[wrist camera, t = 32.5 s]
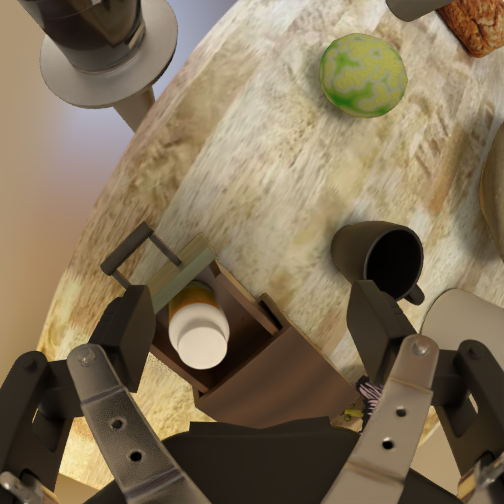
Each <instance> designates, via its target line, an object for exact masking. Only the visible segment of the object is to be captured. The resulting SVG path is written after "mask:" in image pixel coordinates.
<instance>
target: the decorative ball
mask: <svg viewBox="0 0 504 504" xmlns="http://www.w3.org/2000/svg"><path fill="white" fill-rule="evenodd" d="M319 76H320V83H321V88H322V89H323V91H324V93H325V95H326V97H327V98H328V100H330V101H331V102H332V103H333V104H334V105H336V106H337V107H338V108H340V109H341V110H343V111H344V112H346V113H348V114H349V115H351V116H354V117H359V118H373V117H378V116H382V115H384V114H386V113H388V112H389V111H390V110H392V109H393V108H394V107H395V106H396V105H397V104H398V103H399V102H400V100H401V99H402V97H403V95H404V93H405V90H406V86H407V82H408V78H407V74H406V70H405V67H404V64H403V61H402V58H401V56H400V55H399V53H398V52H397V51H396V50H394V48H393V47H392V46H391V45H390V44H389V43H387V42H386V41H384V40H382V39H380V38H377V37H374V36H370V35H365V34H360V33H353V34H349V35H347V36H344V37H342V38H339V39H336V40H334V41H333V42H332V43H331V45H330V46H329V47H328V48H327V50H326V51H325V53H324V55H323V57H322V59H321V63H320V68H319Z"/></svg>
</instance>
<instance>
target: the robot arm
mask: <svg viewBox="0 0 504 504" xmlns="http://www.w3.org/2000/svg"><path fill="white" fill-rule="evenodd" d="M18 1H19V3H20V4H21V5H22V6H23V8H24V9H25V10H26V11H27V12H28V13H29V14H30V15H31V17H32V18H33V19H34V20H35V21H36V23H37V24H38V25H39V26H40V27H41V28H42V30H43V31H44V32H45V33H46V34H47V35H48V37H49V38H50V39H51V40H52V41H53V42H54V44H55V45H56V46H57V47H58V48H59V49H60V50H61V52H62V53H63V54H64V55H65V56H66V58H67V59H68V61H69V62H70V64H71V65H72V66H73V67H74V68H75V69H76V70H78V71H79V72H82V73H84V74H88V75H103V74H108V73H111V72H114V71H116V70H118V69H120V68H122V67H124V66H125V65H126V64H128V63H129V62H130V61H131V60H132V59H133V58H134V57H135V56H136V55H137V54H138V53H139V51H140V50H141V48H142V46H143V44H144V41H145V36H146V27H145V21H144V19H143V12H142V5H141V0H18ZM347 326H348V329H349V331H350V334H351V336H352V338H353V341H354V343H355V345H356V348H357V350H358V352H359V355H360V357H361V360H362V362H363V364H364V367H365V369H366V372H367V374H368V377H369V379H370V382H371V384H372V386H376V385H382V384H383V386H384V388H383V391H382V393H381V395H380V397H379V399H378V402H377V404H376V406H375V408H374V410H373V412H372V414H371V416H370V418H369V420H368V422H367V424H366V426H365V428H364V430H363V432H362V434H359V433H358V432H355V431H353V430H350V429H347V428H344V427H339V426H333V425H331V424H330V420H329V416H325V417H316V418H306V419H295V420H292V421H288V422H285V423H281V424H278V425H274V426H270V427H267V428H262V429H257V428H251V427H246V426H240V425H235V424H230V423H225V422H191V421H190V428H189V431H186V432H182V433H178V434H175V435H172V436H170V437H168V438H166V439H164V440H162V441H160V439H159V438H158V436H157V435H156V433H155V432H154V430H153V429H152V427H151V426H150V424H149V423H148V421H147V420H146V418H145V417H144V415H143V414H142V412H141V410H140V409H139V407H138V406H137V404H136V402H135V401H134V399H133V398H132V396H131V394H130V393H129V392H132V393H137V390H138V387H139V383H140V380H141V376H142V373H143V369H144V366H145V363H146V359H147V356H148V353H149V349H150V346H151V343H152V340H153V336H154V333H155V328H156V320H155V314H154V309H153V304H152V299H151V294H150V289H149V287H148V285H129V286H128V287H127V289H126V291H125V293H124V295H123V297H117V298H115V299H114V300H113V301H112V302H111V303H109V304H108V306H107V308H106V310H105V311H104V314H103V315H102V317H101V319H100V321H99V322H98V324H97V326H96V328H95V330H94V332H93V334H92V335H91V337H90V339H89V341H88V343H87V344H82V345H80V346H77V347H76V348H74V349H73V350H72V351H71V352H70V353H69V355H68V357H67V359H65V360H58V361H51V362H48V361H47V359H46V357H45V355H44V354H43V353H42V352H39V351H30V352H27V353H24V354H23V355H21V356H20V357H19V358H18V359H17V360H16V361H15V363H14V365H13V366H12V368H11V370H10V372H9V374H8V375H7V377H6V379H5V381H4V383H3V385H2V387H1V388H0V504H60V502H59V500H58V498H57V497H56V496H55V494H54V489H55V484H56V480H57V476H58V472H59V468H60V464H61V461H62V457H63V453H64V450H65V446H66V442H67V439H68V436H69V432H70V429H71V426H72V422H73V419H74V418H75V417H83V416H85V418H86V421H87V423H88V425H89V428H90V430H91V432H92V434H93V437H94V439H95V441H96V443H97V445H98V447H99V449H100V451H101V453H102V455H103V457H104V459H105V461H106V463H107V465H108V467H109V469H110V471H111V473H112V475H113V476H114V478H115V479H114V480H113V481H111V482H110V483H109V484H108V485H106V486H105V487H104V488H103V489H101V490H100V491H99V492H97V493H96V494H95V495H94V496H93V497H91V498H90V499H88V500H87V501H86V502H84V503H83V504H504V371H503V370H502V368H501V366H500V365H499V363H498V362H497V360H496V359H495V358H494V356H493V355H492V353H491V352H490V350H489V349H488V348H487V346H485V345H484V344H483V343H481V342H479V341H477V340H473V339H467V340H464V341H462V342H461V343H460V345H459V347H458V349H457V350H445V349H439V347H438V345H437V343H436V342H435V341H434V340H433V339H431V338H429V337H427V336H425V335H420V334H417V332H416V331H415V329H414V328H413V326H412V325H411V323H410V322H409V320H408V319H407V317H406V316H405V314H403V311H402V310H401V308H399V305H398V304H397V302H396V301H395V299H394V298H393V297H391V296H390V295H389V294H387V293H386V292H384V291H382V292H380V290H379V289H378V287H377V286H376V284H375V283H374V282H373V281H372V280H361V281H354V282H353V284H352V287H351V293H350V299H349V304H348V309H347ZM470 394H472V396H473V398H474V400H475V401H476V404H477V406H478V413H476V411H475V409H474V407H473V405H472V403H471V401H470V399H469V395H470ZM430 405H431V406H434V408H435V410H436V413H437V415H438V417H439V420H440V422H441V425H442V427H443V430H444V432H445V434H446V437H447V440H448V442H449V445H450V447H451V450H452V453H453V455H454V458H455V461H456V463H457V466H458V469H459V472H460V475H461V478H460V480H459V483H458V494H457V496H455V495H453V494H451V493H450V492H448V491H447V490H445V489H443V488H442V487H440V486H438V485H437V484H435V483H433V482H432V481H430V480H429V479H427V478H426V477H424V476H423V475H421V474H419V473H418V472H416V471H415V470H413V469H412V468H410V465H411V462H412V459H413V457H414V454H415V451H416V449H417V446H418V443H419V440H420V437H421V434H422V431H423V428H424V424H425V421H426V418H427V414H428V411H429V408H430ZM37 408H38V411H37V413H36V410H37ZM35 413H36V416H35V418H34V415H35ZM33 418H34V421H33ZM32 421H33V423H32Z"/></svg>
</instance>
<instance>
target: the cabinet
mask: <svg viewBox="0 0 504 504" xmlns="http://www.w3.org/2000/svg"><path fill="white" fill-rule="evenodd" d="M257 301H258V303H259V304H260V305H261V306H262V307H263V308H264V309H265V310H266V311H267V312H268V313H269V314H270V315H271V316H272V317H273V318H274V319H275V320H276V321H277V323H278V324H279V325H280V327H281V328H282V329H281V330H280V331H279V332H278V333H276V334H275V335H274V336H273V337H272V338H271V339H270V340H269V341H267V342H266V343H265V344H264V345H263V346H262V347H261V348H259V349H258V350H257V351H256V352H255V353H254V354H252V355H251V356H250V357H249V358H248V359H247V360H245V361H244V362H243V363H242V364H241V365H240V366H238V367H237V368H236V369H235V370H234V371H232V372H231V373H230V374H229V375H228V376H226V377H225V378H224V379H223V380H221V381H220V382H219V383H218V384H217V385H215V386H214V387H213V388H212V389H210V390H209V391H208V392H207V393H205V394H203V393H202V392H201V391H199V390H198V389H197V388H195V387H194V386H192V389H193V396H194V403H195V407H196V408H197V409H199V410H200V411H202V412H203V413H205V414H206V415H208V416H209V417H211V418H213V419H214V420H216V421H217V422H225V423H230V424H235V425H240V426H246V427H251V428H257V429H262V428H267V427H270V426H274V425H278V424H281V423H285V422H288V421H292V420H295V419H306V418H316V417H325V416H329V420H330V422H331V421H332V420H334V419H335V418H336V417H337V416H338V415H340V414H341V413H342V412H343V411H344V410H345V409H347V408H348V407H349V406H350V405H351V404H352V403H353V402H355V401H356V400H357V399H358V398H359V397H360V396H361V395H360V394H359V392H358V391H357V390H356V389H355V388H354V387H353V386H352V385H351V383H350V382H349V381H348V380H347V379H346V378H345V377H344V376H343V374H342V373H341V372H340V371H339V370H338V369H337V368H336V367H335V365H334V364H333V363H332V362H331V361H330V360H329V359H328V358H327V357H326V356H325V355H324V354H323V353H322V351H321V350H320V349H319V348H318V347H317V346H316V345H315V344H314V343H313V342H312V341H311V340H310V339H309V338H308V337H307V336H306V335H305V334H304V333H303V332H302V331H301V330H300V329H299V328H298V326H297V325H296V324H295V323H294V322H293V321H292V320H291V319H290V318H289V317H288V316H287V315H286V314H285V313H284V312H283V311H282V310H281V309H280V308H279V306H278V305H277V304H276V303H275V302H274V301H273V300H272V299H271V298H270V297H269V296H268V295H267V294H266V293H264V294H263V295H262V296H261V297H260V298H259V299H258V300H257Z"/></svg>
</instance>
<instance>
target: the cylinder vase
mask: <svg viewBox="0 0 504 504" xmlns="http://www.w3.org/2000/svg"><path fill="white" fill-rule="evenodd" d="M421 335H425V336H427V337H429V338H431V339H433V340H434V341H435V342H436V343H437V345H438V347H439V349H445V350H457V349H458V347H459V345H460V343H461V342H462V341H464V340H467V339H473V340H477V341H479V342H481V343H483V344H484V345H485V346H487V348H488V349H489V350H490V352H491V353H492V355H493V356H494V358H495V359H496V360H497V362H498V363H499V365H500V366H501V368H502V370H503V371H504V309H503V308H501V307H499V306H497V305H495V304H492V303H490V302H488V301H486V300H484V299H481V298H479V297H477V296H475V295H473V294H470V293H468V292H466V291H464V290H461V289H451V290H449V291H447V292H445V293H444V294H442V295H441V296H440V297H439V298H438V299H437V300H436V301H435V303H434V304H433V305H432V307H431V308H430V310H429V312H428V314H427V316H426V318H425V321H424V324H423V328H422V333H421Z"/></svg>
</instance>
